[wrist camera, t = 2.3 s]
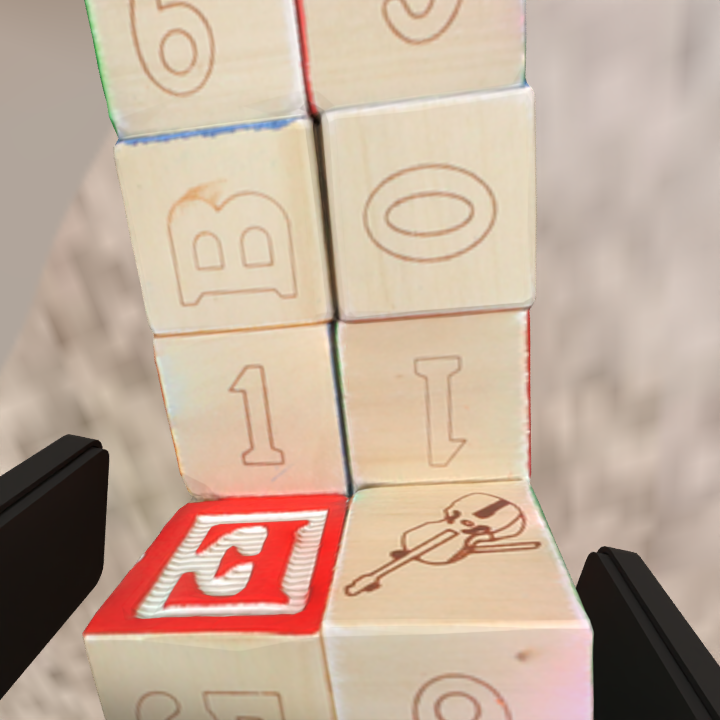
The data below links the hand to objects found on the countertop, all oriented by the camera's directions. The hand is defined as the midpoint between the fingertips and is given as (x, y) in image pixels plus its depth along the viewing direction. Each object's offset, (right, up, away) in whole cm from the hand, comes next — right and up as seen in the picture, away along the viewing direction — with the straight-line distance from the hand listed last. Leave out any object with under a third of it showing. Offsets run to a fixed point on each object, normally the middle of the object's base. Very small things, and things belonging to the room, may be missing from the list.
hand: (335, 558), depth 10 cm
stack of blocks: (+1, +2, +8) cm, 9 cm away
